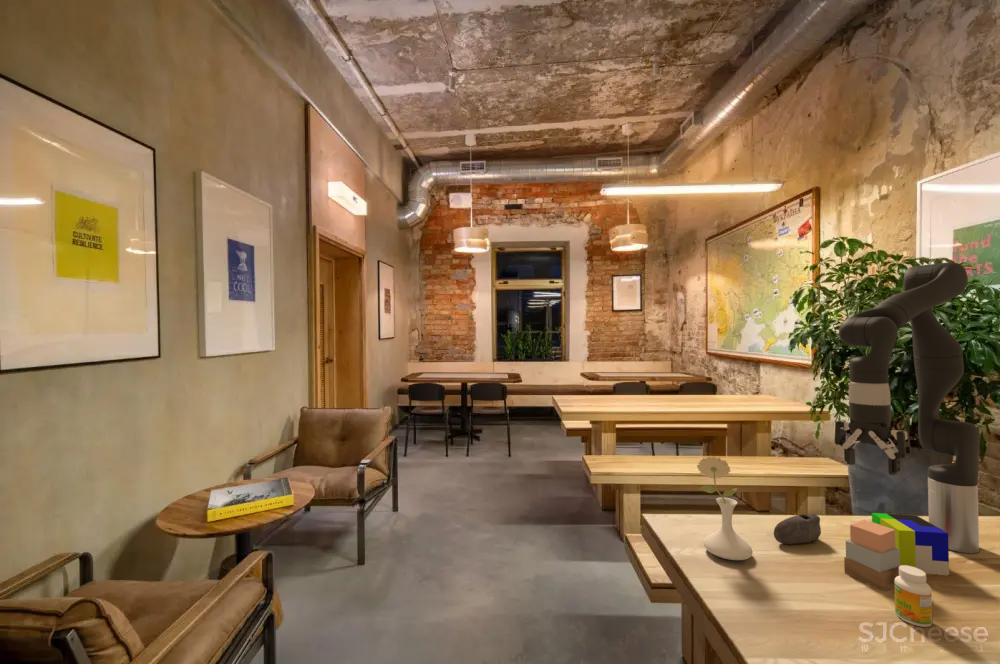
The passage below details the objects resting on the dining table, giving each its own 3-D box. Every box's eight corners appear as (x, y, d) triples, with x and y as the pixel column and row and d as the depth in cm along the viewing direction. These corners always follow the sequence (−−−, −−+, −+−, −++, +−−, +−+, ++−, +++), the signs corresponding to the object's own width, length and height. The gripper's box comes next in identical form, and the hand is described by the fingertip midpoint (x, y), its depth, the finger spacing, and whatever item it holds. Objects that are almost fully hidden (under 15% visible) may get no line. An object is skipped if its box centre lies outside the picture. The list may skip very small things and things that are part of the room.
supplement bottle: (887, 611, 89) (886, 564, 89) (911, 609, 90) (910, 562, 90) (914, 628, 84) (913, 578, 84) (940, 626, 84) (939, 577, 84)
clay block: (864, 536, 105) (864, 519, 105) (895, 546, 100) (894, 529, 100) (850, 541, 103) (850, 524, 103) (881, 553, 97) (880, 535, 97)
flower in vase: (757, 552, 113) (755, 457, 113) (746, 570, 105) (744, 467, 105) (705, 537, 122) (703, 448, 122) (690, 552, 114) (689, 458, 114)
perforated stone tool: (782, 549, 114) (781, 523, 114) (766, 540, 120) (765, 515, 120) (828, 543, 118) (828, 517, 118) (811, 534, 123) (810, 510, 123)
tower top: (865, 551, 106) (864, 535, 106) (899, 566, 99) (899, 548, 99) (846, 557, 103) (845, 540, 103) (880, 572, 97) (879, 554, 97)
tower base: (864, 566, 106) (864, 550, 106) (905, 583, 99) (904, 566, 99) (844, 574, 103) (844, 557, 103) (884, 592, 96) (884, 574, 96)
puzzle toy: (949, 575, 101) (948, 533, 101) (899, 571, 103) (898, 530, 103) (917, 554, 111) (916, 515, 111) (872, 551, 113) (871, 512, 113)
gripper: (916, 404, 97) (918, 475, 97) (845, 395, 110) (847, 459, 111) (897, 407, 94) (899, 481, 95) (826, 398, 108) (828, 463, 108)
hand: (871, 469), depth 103 cm, fingers open, 8 cm apart
